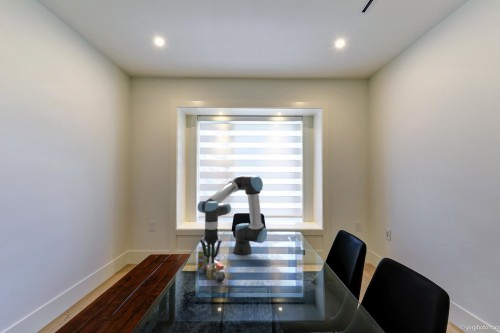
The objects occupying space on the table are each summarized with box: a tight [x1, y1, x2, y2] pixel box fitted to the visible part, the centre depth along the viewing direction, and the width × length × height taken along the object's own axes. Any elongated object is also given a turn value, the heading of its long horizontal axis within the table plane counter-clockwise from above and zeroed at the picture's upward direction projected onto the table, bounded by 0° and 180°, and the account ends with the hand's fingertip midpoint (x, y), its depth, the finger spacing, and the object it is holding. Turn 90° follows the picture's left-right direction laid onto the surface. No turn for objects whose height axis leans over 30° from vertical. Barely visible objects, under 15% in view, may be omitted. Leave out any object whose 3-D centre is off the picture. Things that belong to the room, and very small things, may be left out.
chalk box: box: [197, 244, 216, 270], centre depth 156 cm, size 9×9×15 cm
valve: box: [201, 262, 226, 284], centre depth 141 cm, size 18×6×9 cm, turn 39°
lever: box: [213, 257, 225, 271], centre depth 137 cm, size 14×4×2 cm, turn 34°
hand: (210, 268), depth 130 cm, fingers closed
